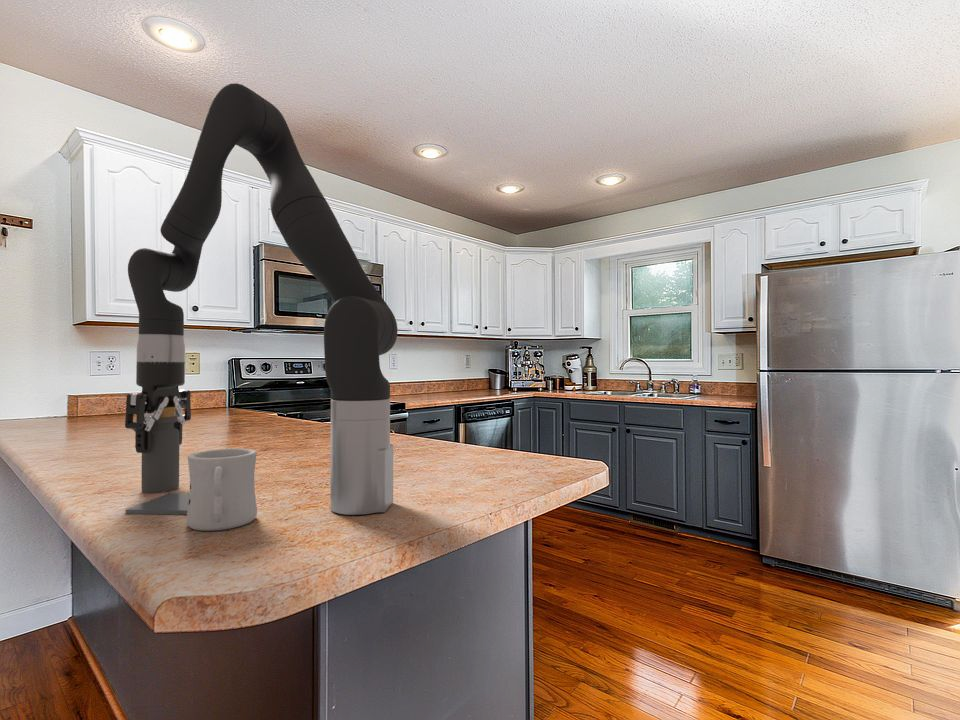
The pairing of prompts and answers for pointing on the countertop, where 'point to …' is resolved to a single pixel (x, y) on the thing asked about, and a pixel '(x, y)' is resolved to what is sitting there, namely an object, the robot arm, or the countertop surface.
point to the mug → (221, 489)
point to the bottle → (162, 455)
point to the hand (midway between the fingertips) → (160, 448)
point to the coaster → (163, 505)
